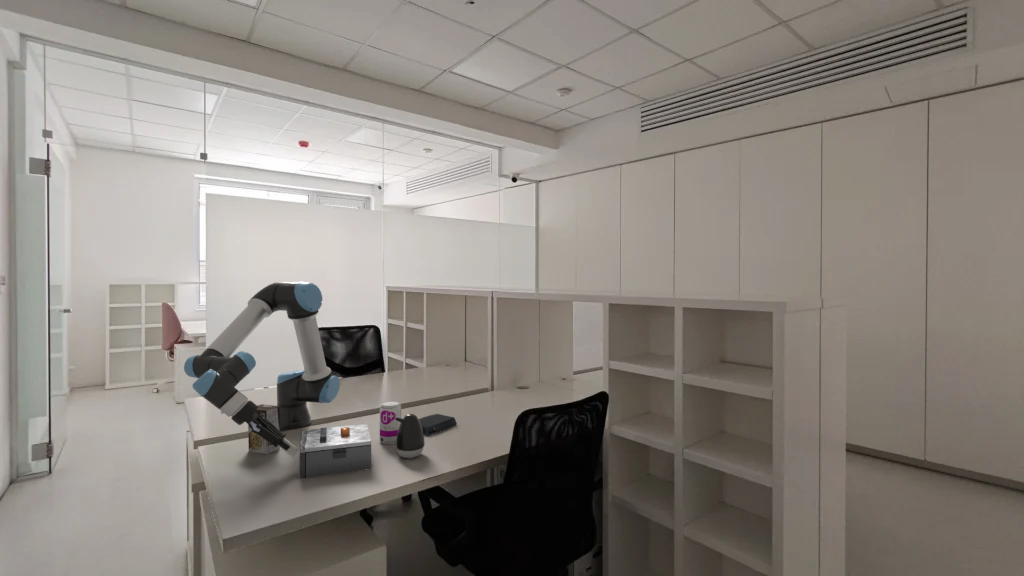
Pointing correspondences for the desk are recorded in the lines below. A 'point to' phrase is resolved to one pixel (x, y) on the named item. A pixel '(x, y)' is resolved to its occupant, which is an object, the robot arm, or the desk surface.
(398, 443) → the pump dispenser
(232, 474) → the desk surface
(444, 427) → the external hard drive
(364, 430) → the lid
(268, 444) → the coffee box
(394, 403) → the supplement can
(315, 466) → the grey storage box
